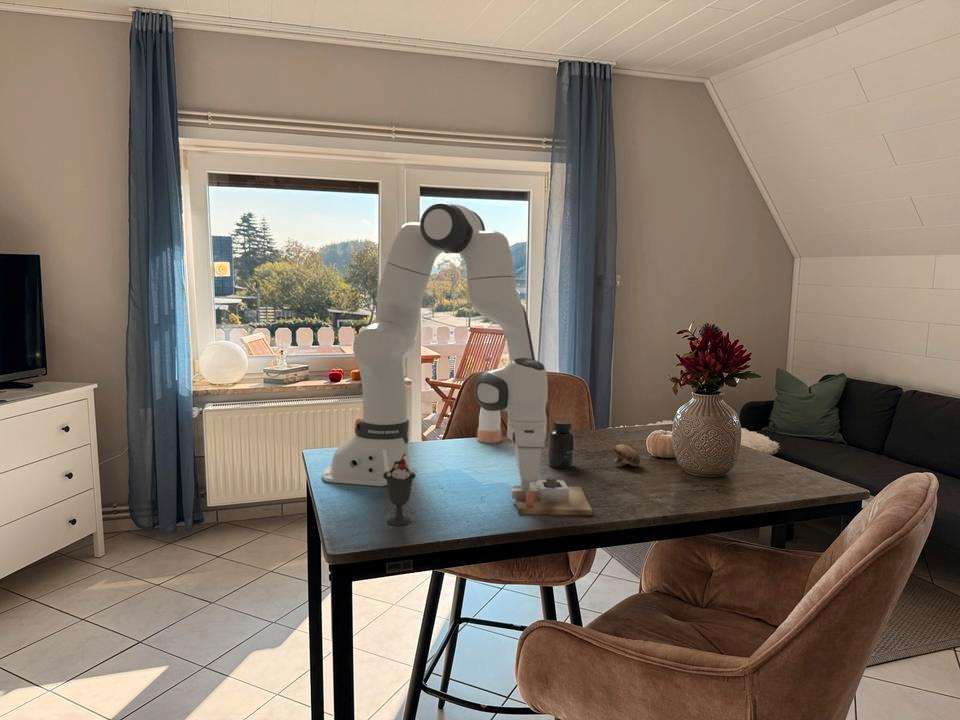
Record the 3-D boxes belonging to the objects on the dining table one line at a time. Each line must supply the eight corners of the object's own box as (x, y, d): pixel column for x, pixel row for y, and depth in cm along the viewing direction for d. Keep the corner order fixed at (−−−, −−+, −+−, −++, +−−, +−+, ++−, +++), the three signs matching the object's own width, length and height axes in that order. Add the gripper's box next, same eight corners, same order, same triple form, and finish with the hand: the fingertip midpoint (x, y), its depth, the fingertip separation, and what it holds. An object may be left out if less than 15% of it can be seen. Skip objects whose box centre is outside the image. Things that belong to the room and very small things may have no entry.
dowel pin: (526, 507, 152) (526, 494, 151) (525, 505, 153) (526, 492, 153) (533, 508, 152) (534, 494, 151) (532, 505, 153) (533, 492, 153)
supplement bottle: (572, 470, 185) (574, 425, 183) (546, 468, 186) (548, 424, 185) (574, 463, 192) (576, 420, 190) (549, 461, 193) (551, 418, 191)
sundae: (406, 529, 141) (407, 457, 139) (377, 524, 143) (377, 453, 141) (421, 519, 147) (421, 449, 145) (392, 514, 149) (393, 445, 147)
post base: (517, 513, 151) (518, 489, 150) (513, 490, 167) (514, 468, 166) (591, 515, 151) (592, 490, 151) (580, 491, 167) (581, 469, 166)
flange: (562, 492, 162) (563, 480, 162) (568, 501, 156) (569, 489, 156) (509, 492, 161) (510, 480, 161) (513, 502, 155) (513, 489, 155)
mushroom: (605, 456, 187) (619, 437, 188) (606, 460, 195) (619, 442, 195) (630, 474, 185) (644, 454, 185) (631, 477, 192) (644, 458, 193)
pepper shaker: (500, 437, 218) (501, 376, 216) (502, 443, 211) (503, 380, 209) (476, 437, 218) (478, 376, 215) (478, 443, 211) (479, 380, 208)
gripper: (510, 420, 169) (508, 475, 171) (515, 441, 149) (514, 503, 151) (536, 420, 169) (534, 475, 171) (545, 441, 149) (543, 504, 151)
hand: (524, 489), depth 161 cm, fingers closed
